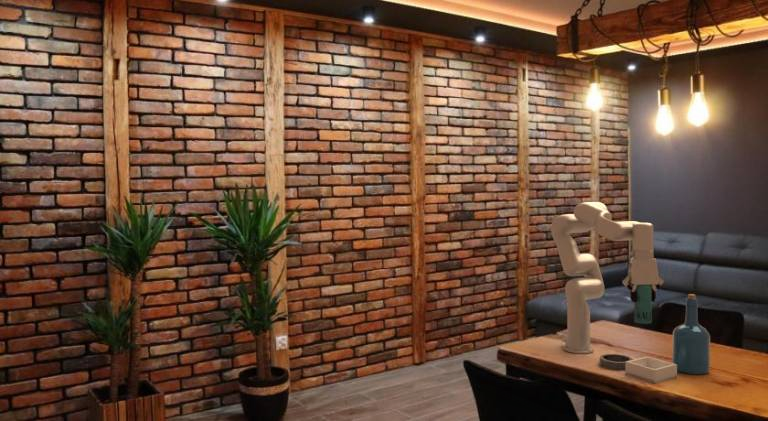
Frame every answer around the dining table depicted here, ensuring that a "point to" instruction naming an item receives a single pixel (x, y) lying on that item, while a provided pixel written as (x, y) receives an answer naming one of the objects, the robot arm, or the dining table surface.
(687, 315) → the wine bottle
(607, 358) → the holder ring
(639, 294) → the beverage bottle
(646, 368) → the bin
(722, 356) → the dining table surface
